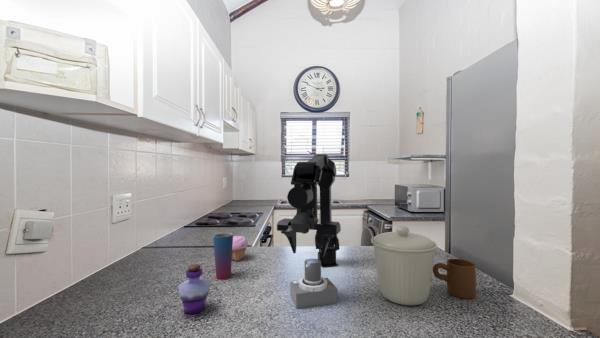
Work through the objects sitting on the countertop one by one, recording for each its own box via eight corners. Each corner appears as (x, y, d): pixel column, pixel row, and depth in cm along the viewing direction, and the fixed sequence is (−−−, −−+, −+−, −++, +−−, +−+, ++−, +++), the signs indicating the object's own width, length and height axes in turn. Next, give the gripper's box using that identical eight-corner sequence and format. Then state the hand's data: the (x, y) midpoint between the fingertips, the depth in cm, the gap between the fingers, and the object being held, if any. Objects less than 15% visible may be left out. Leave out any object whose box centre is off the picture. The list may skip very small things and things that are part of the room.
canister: (368, 306, 73) (367, 230, 73) (374, 280, 90) (373, 218, 90) (442, 319, 67) (441, 235, 67) (433, 288, 84) (432, 221, 84)
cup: (236, 273, 98) (235, 232, 98) (229, 281, 91) (229, 237, 91) (218, 272, 99) (217, 232, 99) (210, 280, 92) (209, 237, 92)
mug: (438, 299, 77) (438, 266, 77) (428, 287, 85) (427, 257, 85) (481, 300, 76) (481, 267, 76) (467, 288, 84) (466, 258, 84)
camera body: (327, 290, 83) (327, 273, 83) (337, 302, 75) (337, 284, 75) (290, 295, 80) (290, 277, 80) (296, 308, 72) (296, 289, 73)
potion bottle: (200, 298, 79) (200, 258, 79) (217, 308, 73) (217, 264, 73) (171, 310, 72) (170, 266, 72) (187, 322, 67) (186, 274, 67)
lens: (312, 280, 81) (312, 256, 81) (325, 285, 78) (324, 260, 78) (300, 285, 78) (300, 260, 78) (313, 290, 74) (312, 265, 74)
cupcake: (222, 260, 112) (221, 236, 112) (237, 254, 120) (237, 232, 120) (236, 264, 107) (236, 239, 107) (251, 258, 115) (251, 235, 115)
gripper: (267, 205, 76) (268, 259, 76) (331, 208, 69) (331, 268, 70) (284, 200, 87) (284, 248, 87) (340, 203, 80) (341, 254, 80)
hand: (308, 254), depth 80 cm, fingers open, 9 cm apart
